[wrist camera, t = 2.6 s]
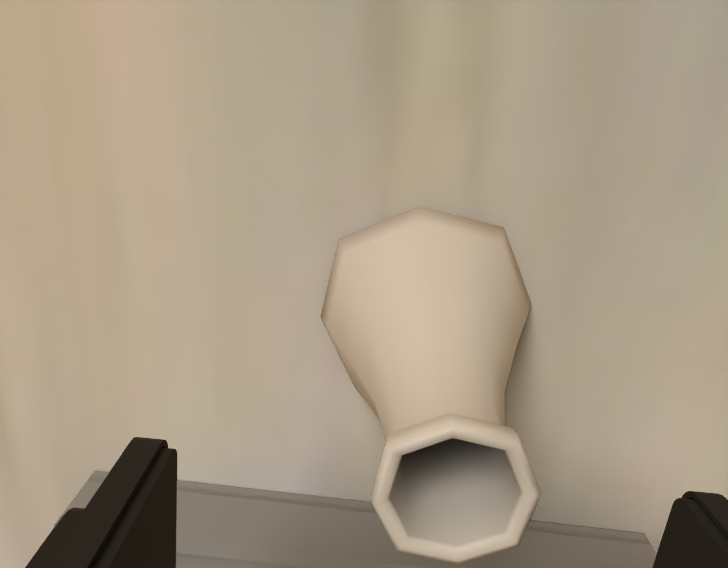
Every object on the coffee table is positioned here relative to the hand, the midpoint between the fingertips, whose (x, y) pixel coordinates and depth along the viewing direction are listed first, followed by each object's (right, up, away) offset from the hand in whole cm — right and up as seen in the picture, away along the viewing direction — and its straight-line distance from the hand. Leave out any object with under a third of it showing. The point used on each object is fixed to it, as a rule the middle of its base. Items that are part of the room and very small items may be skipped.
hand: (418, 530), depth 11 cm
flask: (+1, +4, +10) cm, 11 cm away
